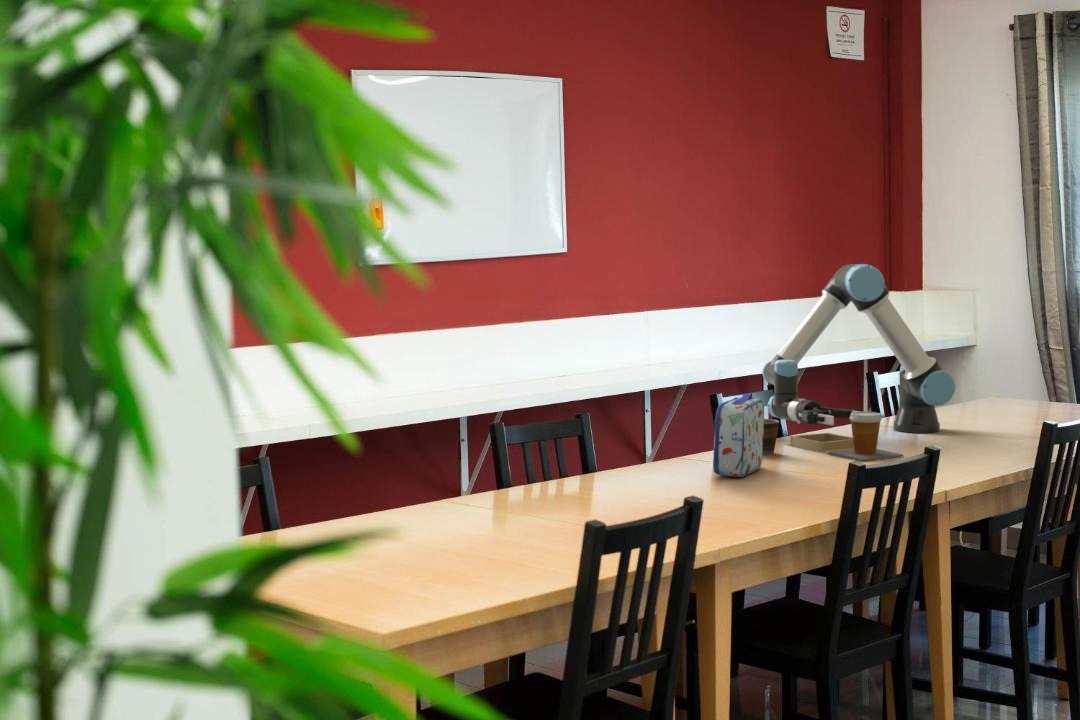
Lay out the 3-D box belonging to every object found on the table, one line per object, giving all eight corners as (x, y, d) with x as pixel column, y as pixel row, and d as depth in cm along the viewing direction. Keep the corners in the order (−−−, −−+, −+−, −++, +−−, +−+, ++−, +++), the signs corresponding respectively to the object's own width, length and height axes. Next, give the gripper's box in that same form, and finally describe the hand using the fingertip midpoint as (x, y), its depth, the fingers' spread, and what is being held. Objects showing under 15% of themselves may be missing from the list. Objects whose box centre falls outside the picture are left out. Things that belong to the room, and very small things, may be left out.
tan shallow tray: (821, 440, 420) (821, 431, 420) (865, 449, 401) (865, 440, 401) (784, 444, 413) (784, 435, 413) (827, 453, 395) (827, 444, 394)
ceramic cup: (756, 449, 404) (756, 417, 403) (784, 452, 398) (785, 420, 397) (734, 455, 394) (735, 422, 393) (763, 458, 388) (764, 425, 387)
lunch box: (731, 463, 380) (732, 389, 378) (767, 465, 376) (767, 390, 374) (709, 479, 355) (709, 400, 352) (746, 482, 351) (746, 401, 349)
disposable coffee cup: (845, 454, 389) (845, 414, 388) (853, 449, 397) (853, 410, 396) (877, 456, 384) (877, 416, 383) (884, 451, 393) (885, 412, 392)
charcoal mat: (868, 450, 401) (868, 447, 401) (903, 457, 388) (903, 454, 388) (828, 454, 393) (828, 451, 393) (862, 461, 380) (862, 459, 380)
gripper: (835, 420, 421) (881, 428, 402) (773, 425, 409) (818, 434, 390) (835, 397, 420) (881, 404, 401) (774, 402, 408) (818, 409, 390)
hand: (850, 419), depth 396 cm, fingers open, 13 cm apart
